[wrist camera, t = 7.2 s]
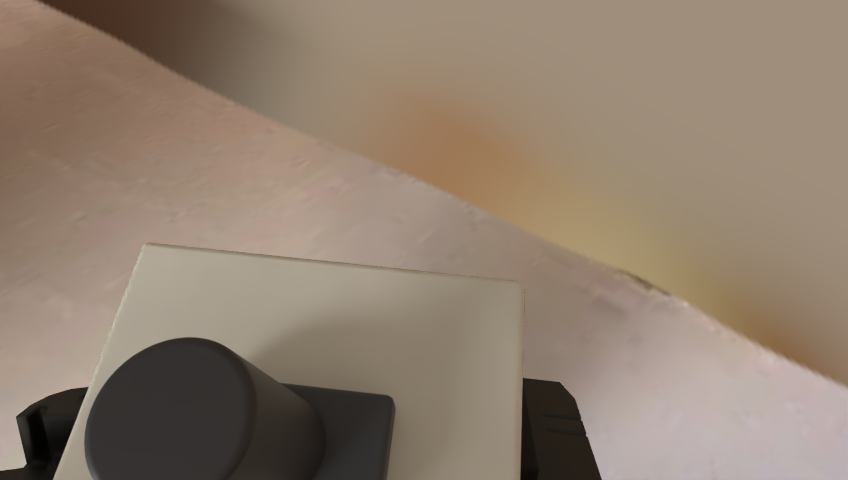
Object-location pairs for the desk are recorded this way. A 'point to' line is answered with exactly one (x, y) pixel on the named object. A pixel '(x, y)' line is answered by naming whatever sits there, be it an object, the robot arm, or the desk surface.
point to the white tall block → (302, 374)
